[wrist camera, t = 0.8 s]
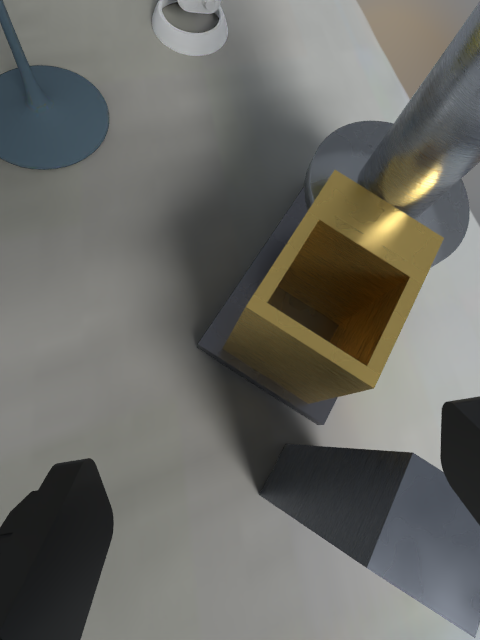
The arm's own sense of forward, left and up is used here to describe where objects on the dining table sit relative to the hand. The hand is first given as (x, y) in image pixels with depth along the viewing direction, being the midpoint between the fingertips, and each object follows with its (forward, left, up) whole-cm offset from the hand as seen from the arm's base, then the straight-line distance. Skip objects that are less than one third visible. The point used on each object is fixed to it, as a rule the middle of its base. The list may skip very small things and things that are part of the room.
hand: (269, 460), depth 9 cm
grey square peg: (+6, +5, -20) cm, 21 cm away
